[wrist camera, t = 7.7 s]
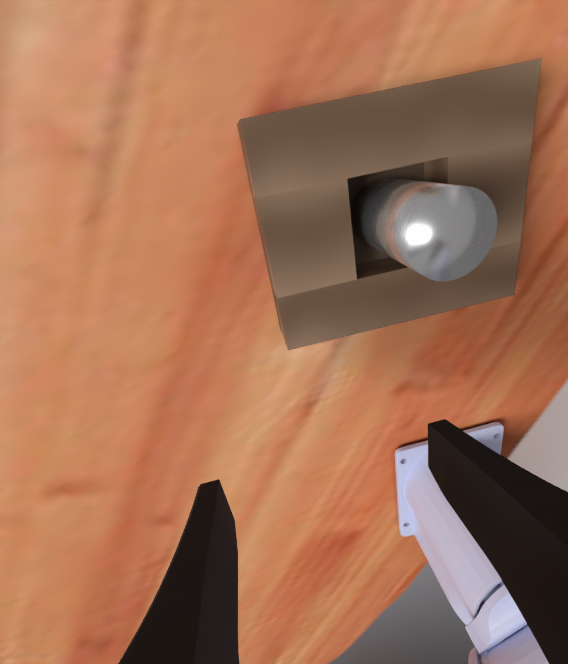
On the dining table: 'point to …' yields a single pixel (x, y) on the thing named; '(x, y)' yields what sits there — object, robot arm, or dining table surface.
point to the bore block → (377, 162)
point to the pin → (426, 225)
